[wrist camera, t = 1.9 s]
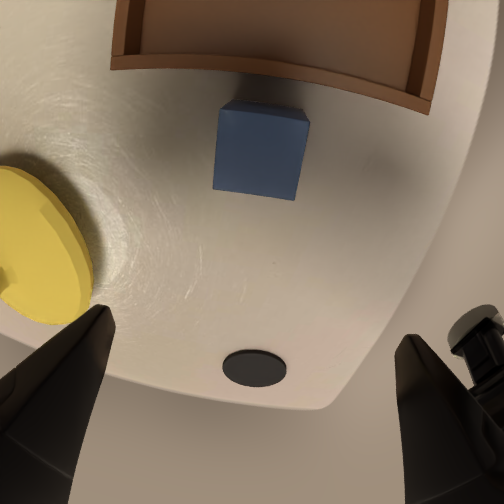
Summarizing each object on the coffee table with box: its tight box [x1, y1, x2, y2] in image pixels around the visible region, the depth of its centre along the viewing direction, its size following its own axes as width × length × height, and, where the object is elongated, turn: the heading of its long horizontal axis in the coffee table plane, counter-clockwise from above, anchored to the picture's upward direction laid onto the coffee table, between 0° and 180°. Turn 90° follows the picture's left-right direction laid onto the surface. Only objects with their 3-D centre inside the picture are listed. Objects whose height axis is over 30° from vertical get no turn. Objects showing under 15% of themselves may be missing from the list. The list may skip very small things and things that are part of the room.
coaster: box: [223, 350, 286, 387], centre depth 29 cm, size 6×6×1 cm
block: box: [213, 99, 310, 201], centre depth 15 cm, size 4×4×4 cm
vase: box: [0, 166, 94, 325], centre depth 19 cm, size 16×16×7 cm
